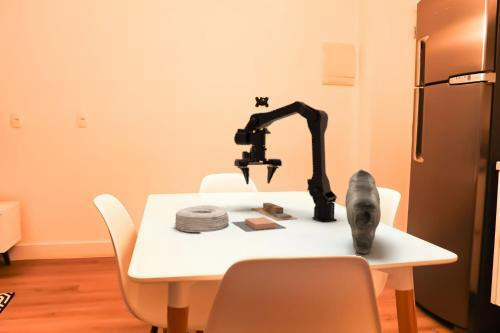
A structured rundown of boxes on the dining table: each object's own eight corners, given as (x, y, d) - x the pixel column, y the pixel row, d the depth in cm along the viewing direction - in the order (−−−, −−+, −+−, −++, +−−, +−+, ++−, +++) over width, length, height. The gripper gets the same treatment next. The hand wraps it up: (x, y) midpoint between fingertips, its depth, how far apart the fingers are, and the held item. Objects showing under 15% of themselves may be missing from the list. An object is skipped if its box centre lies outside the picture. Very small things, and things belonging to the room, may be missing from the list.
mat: (268, 221, 128) (268, 219, 128) (287, 229, 115) (287, 228, 115) (231, 224, 123) (231, 222, 123) (246, 233, 110) (246, 231, 110)
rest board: (269, 209, 151) (269, 207, 151) (297, 220, 129) (297, 218, 129) (251, 210, 148) (251, 208, 148) (277, 222, 126) (277, 220, 126)
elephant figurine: (382, 259, 87) (385, 175, 86) (344, 255, 89) (346, 174, 88) (374, 233, 111) (376, 168, 110) (344, 231, 114) (346, 167, 112)
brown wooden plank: (260, 210, 144) (260, 203, 143) (271, 209, 145) (271, 202, 145) (279, 218, 128) (279, 210, 128) (291, 217, 130) (291, 209, 130)
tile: (264, 217, 123) (275, 222, 115) (264, 222, 123) (275, 228, 115) (245, 218, 120) (255, 224, 112) (245, 224, 121) (255, 230, 112)
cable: (218, 220, 130) (218, 203, 130) (237, 231, 114) (237, 212, 114) (169, 224, 123) (169, 206, 123) (182, 236, 107) (182, 216, 107)
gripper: (270, 145, 157) (270, 181, 158) (230, 145, 150) (229, 182, 151) (282, 145, 146) (282, 184, 147) (239, 145, 139) (239, 185, 140)
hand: (258, 183), depth 147 cm, fingers open, 9 cm apart
